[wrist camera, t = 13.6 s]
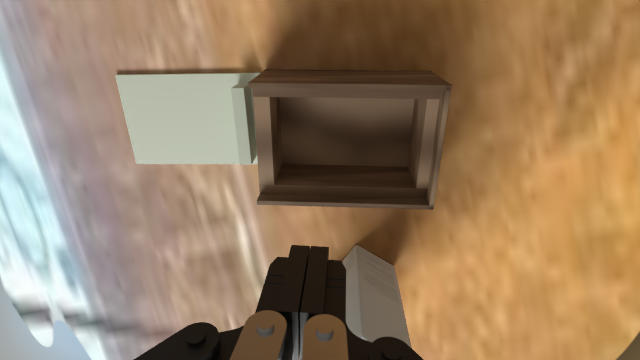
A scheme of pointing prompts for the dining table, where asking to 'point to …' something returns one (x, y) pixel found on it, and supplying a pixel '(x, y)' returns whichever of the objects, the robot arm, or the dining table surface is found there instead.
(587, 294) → the dining table surface
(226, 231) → the dining table surface
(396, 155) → the box
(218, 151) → the lid
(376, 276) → the skincare box
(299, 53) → the dining table surface
